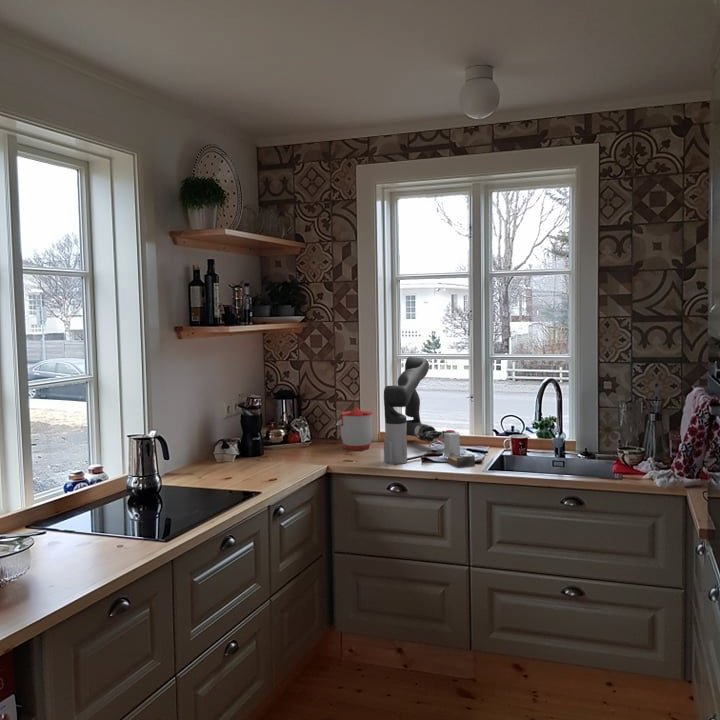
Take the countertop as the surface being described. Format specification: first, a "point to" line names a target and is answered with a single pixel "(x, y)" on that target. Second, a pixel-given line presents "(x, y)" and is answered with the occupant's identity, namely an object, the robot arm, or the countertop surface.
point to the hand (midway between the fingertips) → (440, 438)
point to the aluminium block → (451, 444)
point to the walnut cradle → (462, 461)
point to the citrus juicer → (356, 429)
